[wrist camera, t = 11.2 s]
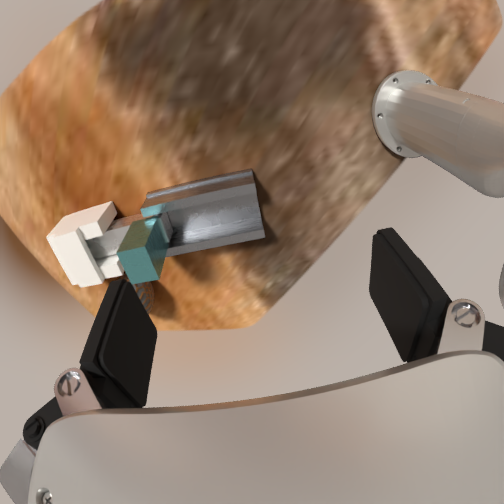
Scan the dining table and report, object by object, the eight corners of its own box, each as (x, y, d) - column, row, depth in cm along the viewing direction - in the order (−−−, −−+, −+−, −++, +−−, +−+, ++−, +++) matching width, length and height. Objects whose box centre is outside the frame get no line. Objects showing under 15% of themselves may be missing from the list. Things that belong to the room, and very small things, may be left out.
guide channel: (251, 168, 37) (254, 180, 34) (261, 222, 42) (265, 239, 38) (147, 192, 38) (139, 206, 34) (165, 242, 42) (160, 260, 39)
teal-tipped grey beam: (164, 204, 38) (146, 245, 29) (173, 232, 40) (161, 279, 32) (78, 227, 38) (48, 268, 30) (90, 252, 41) (65, 296, 32)
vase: (111, 267, 44) (94, 305, 37) (150, 263, 44) (138, 302, 37) (125, 299, 48) (112, 338, 41) (162, 296, 48) (154, 336, 41)
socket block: (112, 201, 38) (94, 225, 32) (133, 250, 43) (120, 279, 37) (64, 216, 38) (42, 241, 32) (86, 261, 43) (70, 289, 37)
